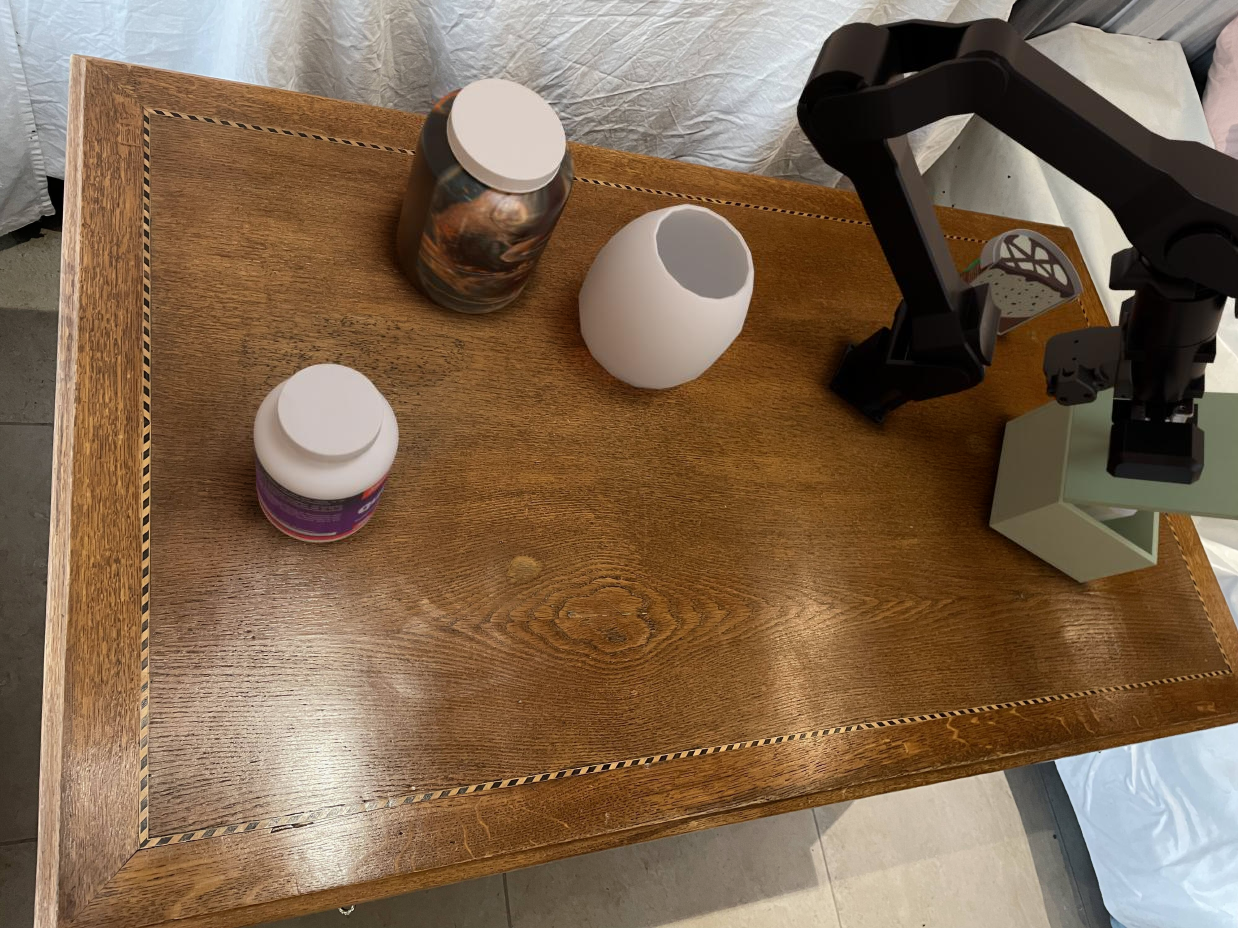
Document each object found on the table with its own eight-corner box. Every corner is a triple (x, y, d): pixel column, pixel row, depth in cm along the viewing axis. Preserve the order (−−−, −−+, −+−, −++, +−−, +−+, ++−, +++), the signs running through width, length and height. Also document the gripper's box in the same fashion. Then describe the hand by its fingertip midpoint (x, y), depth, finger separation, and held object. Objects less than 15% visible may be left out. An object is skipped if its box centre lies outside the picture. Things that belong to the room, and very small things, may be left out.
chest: (1091, 478, 88) (1162, 452, 81) (1080, 583, 81) (1157, 565, 74) (1006, 422, 86) (1071, 391, 79) (988, 525, 79) (1058, 501, 72)
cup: (623, 431, 67) (696, 359, 55) (533, 307, 68) (587, 210, 56) (725, 366, 73) (809, 290, 62) (642, 254, 74) (710, 158, 63)
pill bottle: (368, 554, 55) (396, 491, 43) (245, 537, 53) (235, 464, 40) (387, 448, 58) (417, 361, 46) (270, 427, 56) (269, 328, 43)
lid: (1239, 398, 72) (1241, 392, 71) (1241, 521, 66) (1242, 516, 65) (1075, 391, 78) (1076, 386, 78) (1062, 502, 72) (1063, 497, 72)
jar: (365, 217, 64) (388, 78, 51) (483, 178, 70) (530, 44, 57) (444, 334, 63) (488, 222, 50) (556, 284, 69) (621, 172, 56)
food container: (1004, 295, 93) (1078, 246, 85) (1010, 339, 91) (1087, 293, 82) (921, 263, 89) (990, 208, 81) (924, 308, 87) (996, 256, 78)
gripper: (1064, 242, 69) (1052, 364, 80) (1041, 406, 60) (1031, 517, 71) (1222, 238, 63) (1185, 369, 75) (1223, 417, 54) (1181, 535, 66)
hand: (1142, 444), depth 72 cm, fingers closed, pressing on lid
